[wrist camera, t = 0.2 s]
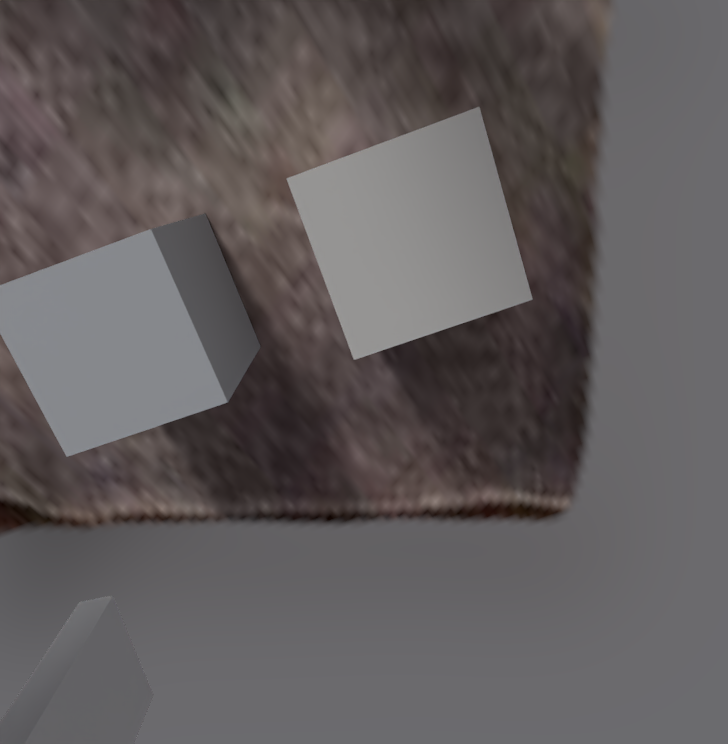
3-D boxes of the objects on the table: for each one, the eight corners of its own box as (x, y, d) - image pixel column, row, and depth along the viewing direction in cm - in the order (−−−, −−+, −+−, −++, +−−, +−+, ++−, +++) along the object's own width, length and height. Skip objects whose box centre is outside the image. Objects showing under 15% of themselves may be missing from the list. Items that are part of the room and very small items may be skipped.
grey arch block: (74, 262, 39) (-22, 293, 29) (205, 213, 38) (150, 229, 28) (136, 389, 41) (66, 456, 32) (260, 346, 40) (227, 402, 31)
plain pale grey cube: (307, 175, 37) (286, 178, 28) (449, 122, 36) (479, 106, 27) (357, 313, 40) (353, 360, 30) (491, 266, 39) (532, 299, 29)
